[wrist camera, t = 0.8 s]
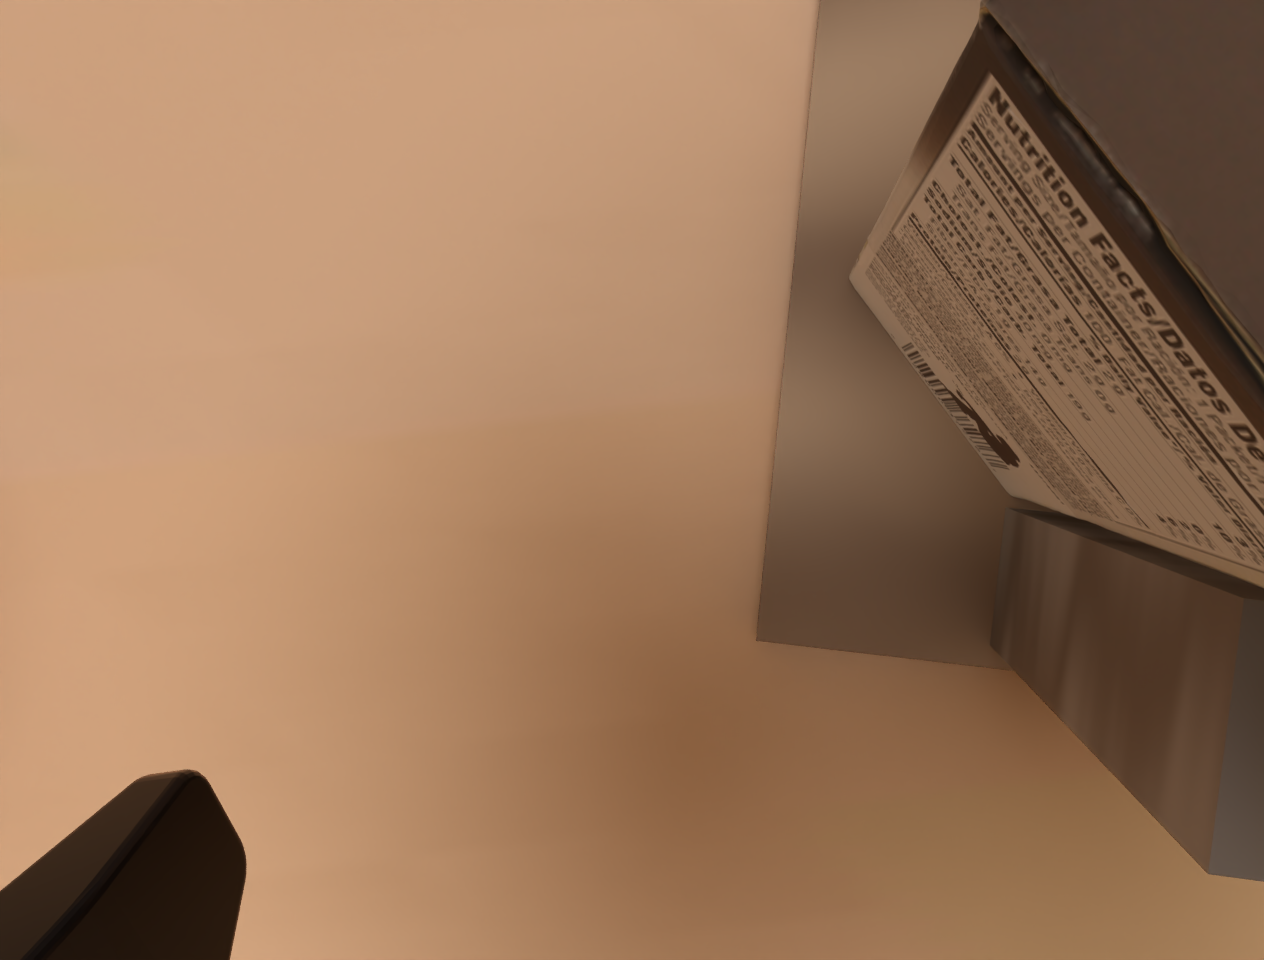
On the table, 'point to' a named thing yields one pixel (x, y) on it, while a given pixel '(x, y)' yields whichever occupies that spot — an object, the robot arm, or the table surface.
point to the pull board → (980, 496)
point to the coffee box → (1096, 265)
